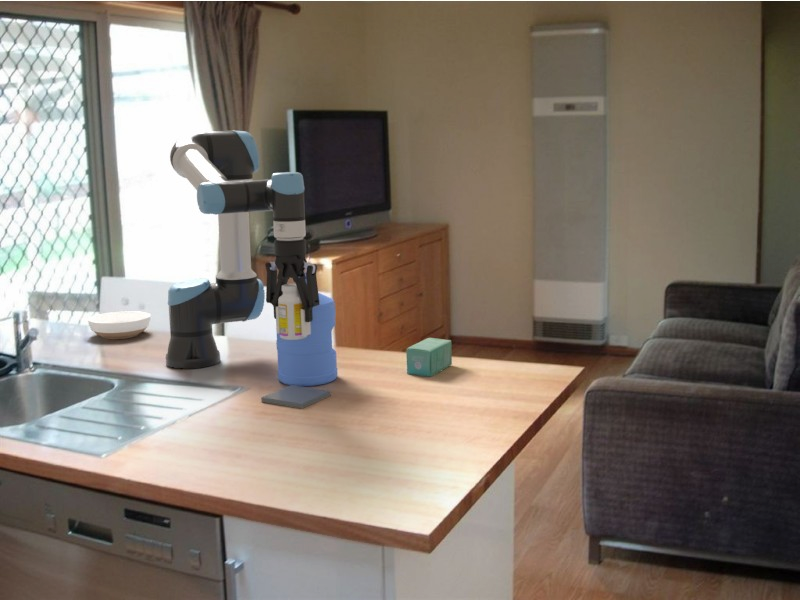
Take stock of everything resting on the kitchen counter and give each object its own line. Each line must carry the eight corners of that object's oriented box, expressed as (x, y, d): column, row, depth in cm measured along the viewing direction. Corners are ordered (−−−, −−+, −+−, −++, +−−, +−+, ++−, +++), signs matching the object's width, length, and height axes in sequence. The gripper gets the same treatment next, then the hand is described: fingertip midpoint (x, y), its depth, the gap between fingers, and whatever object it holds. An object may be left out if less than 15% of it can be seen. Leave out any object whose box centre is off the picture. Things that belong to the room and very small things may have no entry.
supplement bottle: (310, 334, 221) (308, 282, 218) (304, 340, 214) (302, 287, 212) (283, 334, 221) (280, 282, 219) (276, 340, 215) (274, 287, 213)
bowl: (78, 341, 288) (76, 322, 287) (107, 328, 307) (105, 310, 306) (135, 342, 285) (134, 323, 283) (161, 329, 304) (160, 311, 302)
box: (405, 374, 241) (405, 347, 240) (428, 363, 253) (428, 337, 252) (430, 377, 238) (430, 350, 237) (452, 366, 250) (452, 339, 248)
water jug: (305, 390, 227) (301, 281, 222) (265, 380, 238) (260, 275, 233) (350, 377, 239) (346, 273, 234) (310, 368, 249) (306, 267, 244)
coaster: (261, 401, 219) (261, 397, 218) (291, 389, 229) (291, 384, 229) (301, 408, 213) (301, 403, 213) (330, 395, 223) (330, 390, 223)
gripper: (247, 238, 215) (251, 332, 219) (314, 241, 206) (318, 340, 210) (266, 235, 222) (270, 327, 226) (333, 238, 212) (336, 334, 216)
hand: (293, 333), depth 218 cm, fingers closed on supplement bottle, 7 cm apart
